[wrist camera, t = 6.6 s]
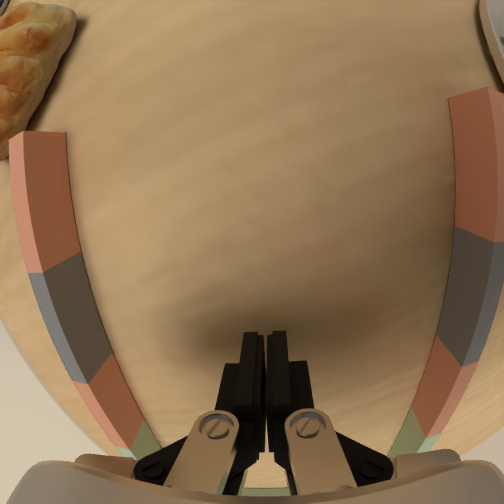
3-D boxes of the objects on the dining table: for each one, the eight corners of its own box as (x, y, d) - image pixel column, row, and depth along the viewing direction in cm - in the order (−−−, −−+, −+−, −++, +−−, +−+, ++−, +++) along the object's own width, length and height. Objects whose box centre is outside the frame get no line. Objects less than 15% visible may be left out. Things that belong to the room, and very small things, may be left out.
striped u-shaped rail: (465, 102, 8) (504, 94, 5) (384, 476, 17) (389, 499, 14) (50, 139, 10) (8, 139, 7) (176, 484, 19) (170, 507, 16)
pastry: (32, 174, 10) (-20, 182, 7) (-20, 155, 10) (-60, 160, 6) (92, 11, 8) (53, -17, 4) (25, 23, 7) (-10, 9, 4)
